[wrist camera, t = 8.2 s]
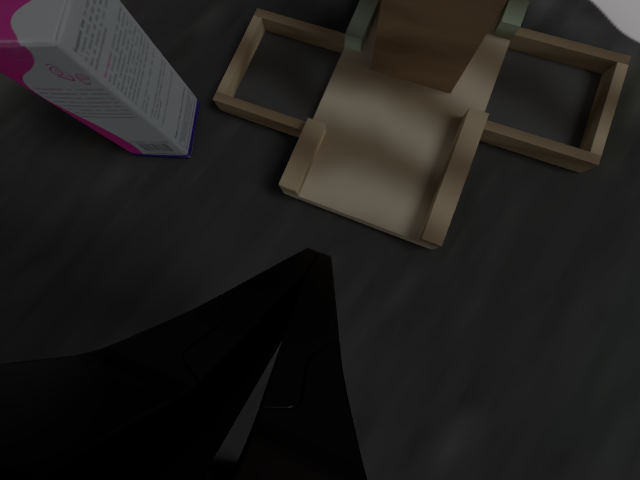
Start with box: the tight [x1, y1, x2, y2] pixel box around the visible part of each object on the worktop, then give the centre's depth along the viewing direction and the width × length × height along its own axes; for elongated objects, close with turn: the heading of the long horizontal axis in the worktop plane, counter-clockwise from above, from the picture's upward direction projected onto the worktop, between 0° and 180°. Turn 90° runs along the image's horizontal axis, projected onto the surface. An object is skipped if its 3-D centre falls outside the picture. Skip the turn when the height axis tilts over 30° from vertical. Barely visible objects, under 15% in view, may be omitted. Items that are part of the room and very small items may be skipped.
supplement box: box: [0, 0, 200, 158], centre depth 18 cm, size 6×6×12 cm
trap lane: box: [213, 0, 631, 249], centre depth 21 cm, size 23×31×4 cm
